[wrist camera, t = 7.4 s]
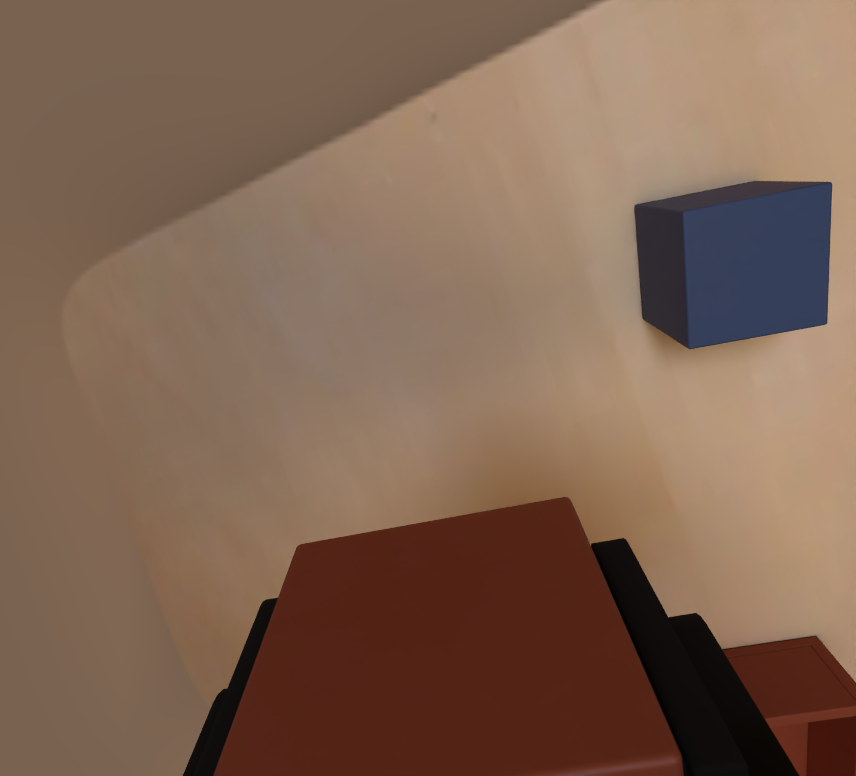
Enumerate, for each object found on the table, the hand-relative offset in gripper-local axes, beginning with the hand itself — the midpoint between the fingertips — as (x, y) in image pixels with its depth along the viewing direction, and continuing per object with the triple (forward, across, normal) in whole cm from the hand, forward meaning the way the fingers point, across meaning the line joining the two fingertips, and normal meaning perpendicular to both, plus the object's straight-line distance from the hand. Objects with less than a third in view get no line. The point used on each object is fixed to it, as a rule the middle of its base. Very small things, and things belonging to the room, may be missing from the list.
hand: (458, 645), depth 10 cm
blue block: (+15, -11, -2) cm, 19 cm away
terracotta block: (0, 0, 0) cm, 0 cm away
